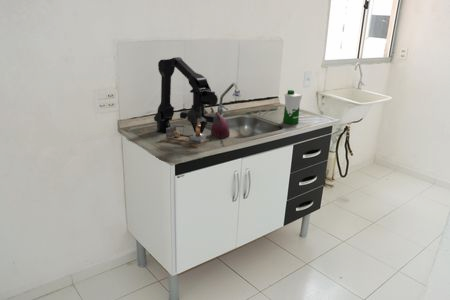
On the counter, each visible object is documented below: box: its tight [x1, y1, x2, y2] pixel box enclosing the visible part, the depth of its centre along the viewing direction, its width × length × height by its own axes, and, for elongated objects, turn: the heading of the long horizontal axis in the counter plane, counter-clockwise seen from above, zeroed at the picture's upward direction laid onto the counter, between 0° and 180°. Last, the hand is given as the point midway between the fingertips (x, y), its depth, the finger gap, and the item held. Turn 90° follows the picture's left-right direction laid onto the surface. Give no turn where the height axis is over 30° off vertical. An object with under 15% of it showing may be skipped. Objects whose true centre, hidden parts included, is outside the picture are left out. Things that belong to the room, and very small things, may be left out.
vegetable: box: [210, 111, 231, 139], centre depth 197 cm, size 10×10×15 cm
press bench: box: [163, 125, 210, 149], centre depth 188 cm, size 20×12×6 cm, turn 66°
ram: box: [188, 124, 207, 143], centre depth 184 cm, size 7×6×8 cm
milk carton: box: [282, 89, 303, 126], centre depth 228 cm, size 9×9×20 cm
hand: (198, 133), depth 184 cm, fingers closed on ram, 3 cm apart
